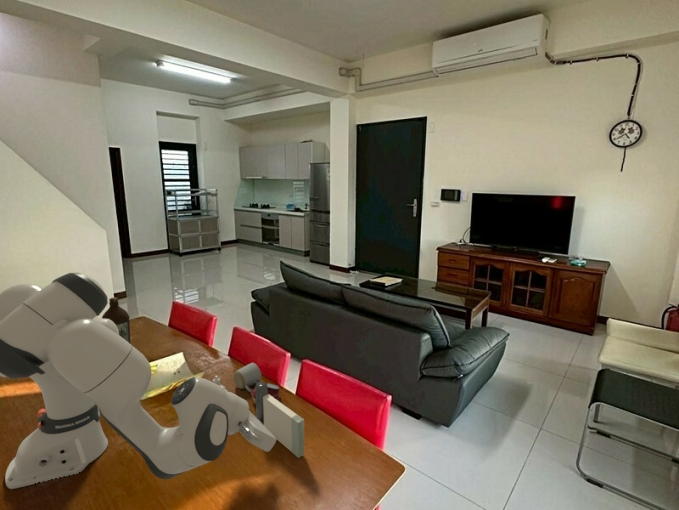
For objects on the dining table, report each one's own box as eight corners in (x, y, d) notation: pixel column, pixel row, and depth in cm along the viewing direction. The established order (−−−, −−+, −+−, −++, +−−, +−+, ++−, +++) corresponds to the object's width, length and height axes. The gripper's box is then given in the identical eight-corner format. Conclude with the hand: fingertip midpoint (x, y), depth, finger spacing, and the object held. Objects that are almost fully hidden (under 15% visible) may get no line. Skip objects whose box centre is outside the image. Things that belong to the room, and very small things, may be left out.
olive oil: (102, 351, 165) (96, 298, 160) (128, 344, 172) (123, 293, 168) (108, 359, 158) (102, 303, 153) (135, 351, 165) (130, 298, 160)
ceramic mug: (232, 386, 139) (231, 367, 137) (250, 377, 145) (249, 359, 143) (249, 397, 132) (248, 377, 130) (267, 387, 138) (267, 369, 137)
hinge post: (259, 430, 114) (257, 389, 111) (255, 424, 117) (253, 384, 114) (270, 426, 116) (269, 386, 113) (265, 420, 119) (264, 380, 116)
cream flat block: (263, 428, 114) (262, 396, 112) (269, 425, 116) (268, 393, 113) (298, 458, 102) (298, 422, 100) (304, 454, 104) (304, 419, 101)
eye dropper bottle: (217, 414, 122) (215, 381, 119) (207, 408, 125) (205, 376, 122) (228, 408, 125) (226, 375, 123) (218, 402, 128) (216, 370, 126)
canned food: (252, 408, 133) (246, 380, 135) (279, 399, 136) (273, 372, 139) (255, 411, 123) (249, 381, 125) (284, 402, 126) (278, 373, 128)
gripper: (259, 423, 85) (294, 441, 94) (222, 386, 101) (256, 404, 109) (241, 449, 84) (279, 465, 92) (207, 406, 99) (242, 424, 107)
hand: (266, 432), depth 100 cm, fingers closed
